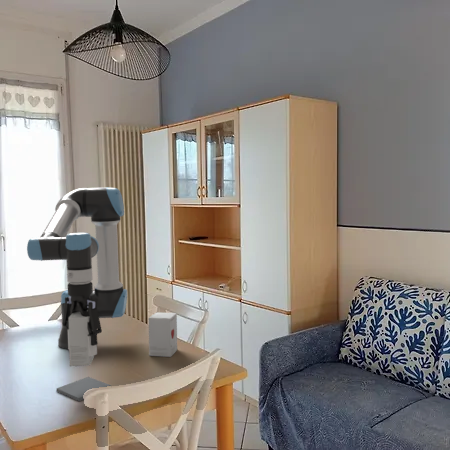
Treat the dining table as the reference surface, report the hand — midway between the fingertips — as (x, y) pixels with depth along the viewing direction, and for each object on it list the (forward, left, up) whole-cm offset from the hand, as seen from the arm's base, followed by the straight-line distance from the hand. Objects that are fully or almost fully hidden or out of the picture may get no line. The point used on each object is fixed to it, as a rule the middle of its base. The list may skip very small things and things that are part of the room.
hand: (82, 351), depth 153 cm
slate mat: (0, 0, -12) cm, 12 cm away
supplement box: (-5, +40, -13) cm, 42 cm away
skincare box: (0, 0, -3) cm, 3 cm away
